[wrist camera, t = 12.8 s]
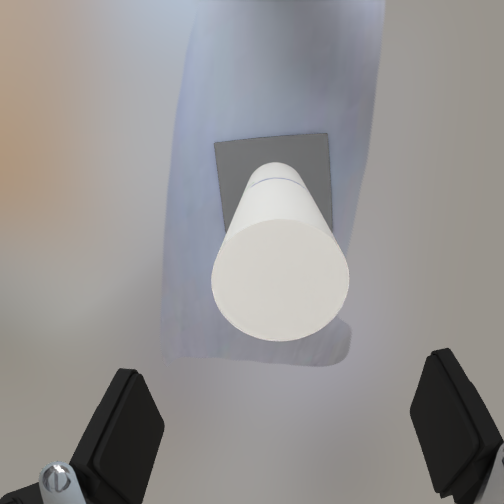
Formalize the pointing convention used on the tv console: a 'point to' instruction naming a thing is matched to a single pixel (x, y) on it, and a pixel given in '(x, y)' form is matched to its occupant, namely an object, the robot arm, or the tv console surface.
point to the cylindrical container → (279, 261)
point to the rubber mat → (267, 151)
